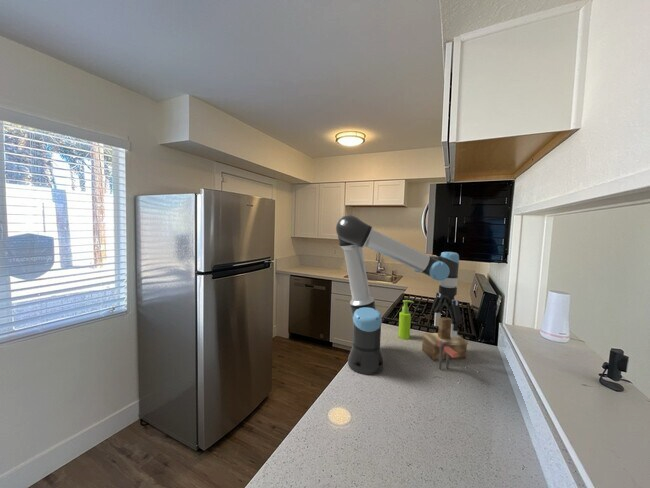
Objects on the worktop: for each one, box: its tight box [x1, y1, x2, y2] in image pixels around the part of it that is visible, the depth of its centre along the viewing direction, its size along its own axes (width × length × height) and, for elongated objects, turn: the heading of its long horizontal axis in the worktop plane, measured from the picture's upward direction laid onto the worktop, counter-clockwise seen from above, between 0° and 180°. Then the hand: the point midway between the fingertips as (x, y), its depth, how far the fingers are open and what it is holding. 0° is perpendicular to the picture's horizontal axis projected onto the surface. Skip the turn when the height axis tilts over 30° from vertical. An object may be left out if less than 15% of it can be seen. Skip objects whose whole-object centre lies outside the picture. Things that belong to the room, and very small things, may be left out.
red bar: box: [437, 341, 458, 358], centre depth 114 cm, size 2×11×2 cm, turn 10°
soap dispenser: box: [397, 299, 415, 340], centre depth 145 cm, size 6×7×20 cm
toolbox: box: [421, 336, 468, 371], centre depth 124 cm, size 18×17×12 cm
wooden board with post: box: [421, 317, 469, 346], centre depth 127 cm, size 17×11×11 cm, turn 100°
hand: (444, 331), depth 127 cm, fingers open, 12 cm apart
